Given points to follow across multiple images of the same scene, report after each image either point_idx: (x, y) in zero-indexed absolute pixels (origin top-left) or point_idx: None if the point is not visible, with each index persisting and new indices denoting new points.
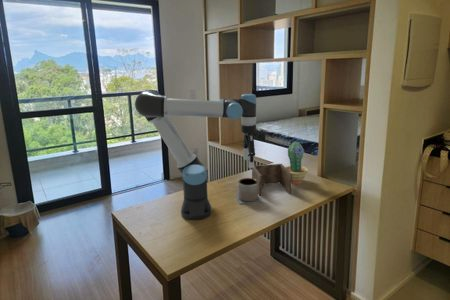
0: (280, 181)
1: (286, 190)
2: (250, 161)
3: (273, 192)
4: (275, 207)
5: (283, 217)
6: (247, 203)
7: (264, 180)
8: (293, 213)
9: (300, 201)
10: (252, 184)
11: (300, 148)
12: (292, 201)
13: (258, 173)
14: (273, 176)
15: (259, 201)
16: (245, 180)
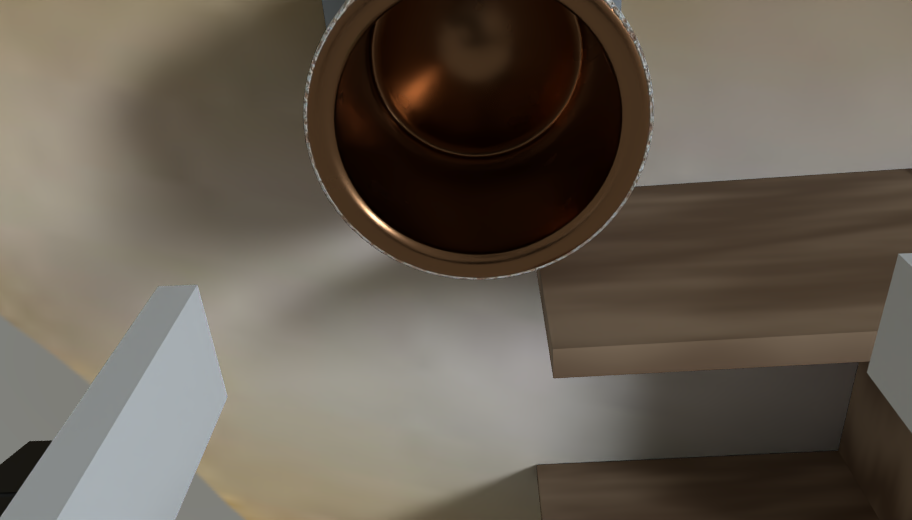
0: (824, 471)
1: (614, 464)
2: (26, 456)
3: None
4: (231, 297)
5: (24, 319)
6: (326, 20)
7: None
8: None
9: (363, 504)
10: (568, 177)
11: None
12: (366, 453)
13: (676, 350)
14: (892, 455)
15: None
16: (615, 93)
